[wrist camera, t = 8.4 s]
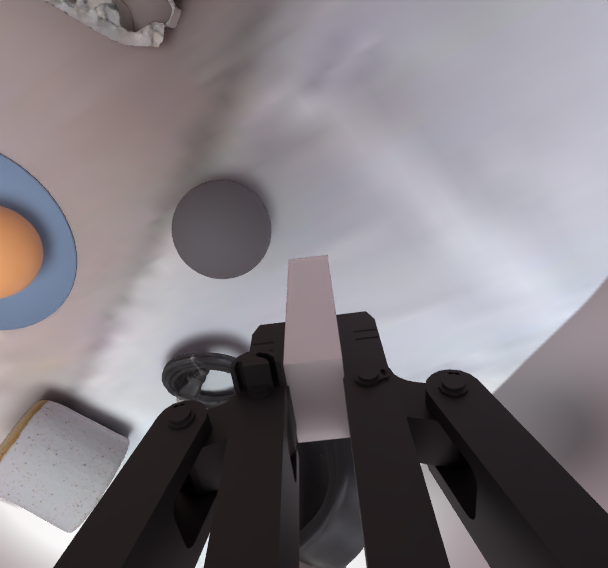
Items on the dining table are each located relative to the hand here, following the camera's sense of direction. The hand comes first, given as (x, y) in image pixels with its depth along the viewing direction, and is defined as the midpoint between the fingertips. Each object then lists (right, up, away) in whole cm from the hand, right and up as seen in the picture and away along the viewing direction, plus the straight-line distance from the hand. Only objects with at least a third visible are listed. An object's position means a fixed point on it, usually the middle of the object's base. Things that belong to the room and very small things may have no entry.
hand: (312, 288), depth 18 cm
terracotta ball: (-20, +2, +11) cm, 23 cm away
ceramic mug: (-20, -13, +22) cm, 33 cm away
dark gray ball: (-5, +3, +10) cm, 12 cm away
